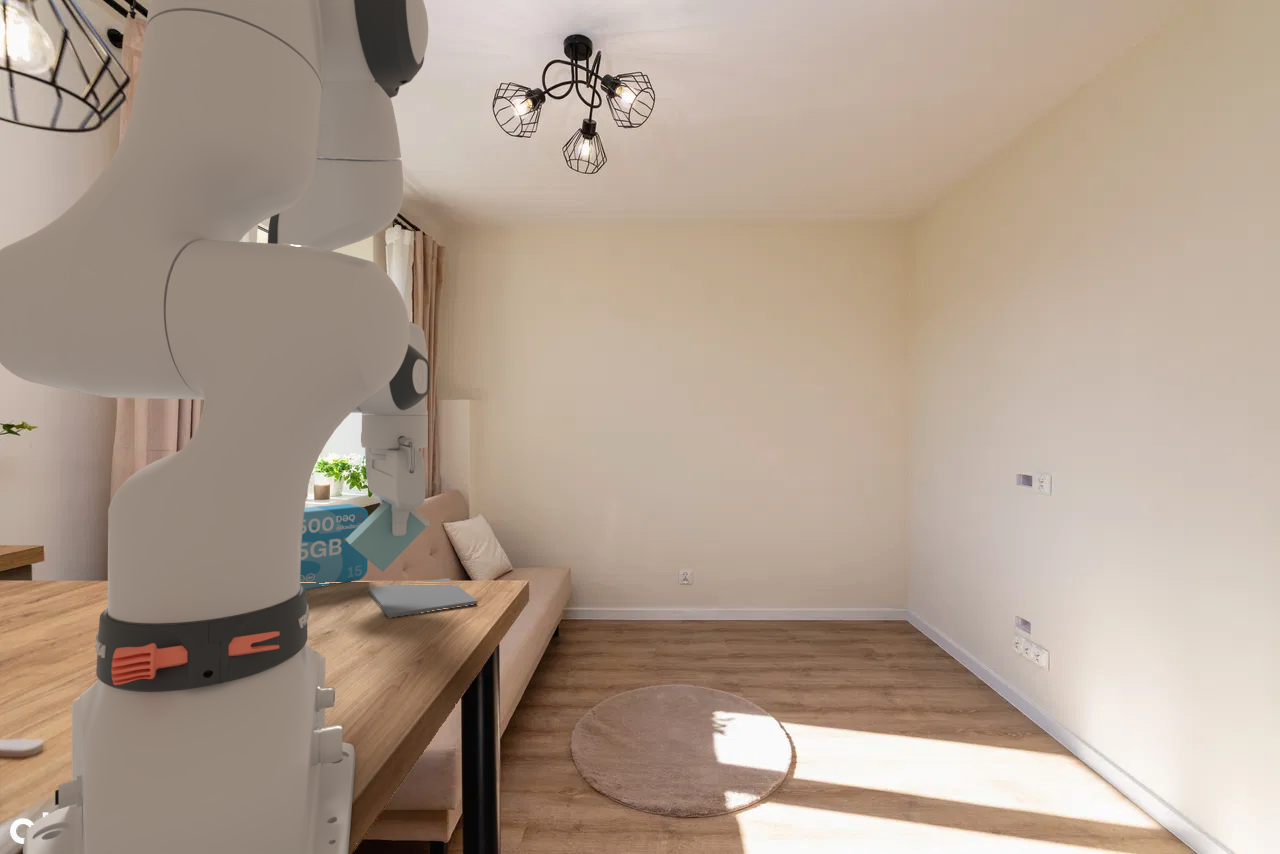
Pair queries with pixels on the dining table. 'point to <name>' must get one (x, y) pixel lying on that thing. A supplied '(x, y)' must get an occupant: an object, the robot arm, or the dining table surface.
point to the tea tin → (385, 535)
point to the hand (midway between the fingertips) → (393, 531)
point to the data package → (331, 545)
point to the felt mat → (420, 597)
